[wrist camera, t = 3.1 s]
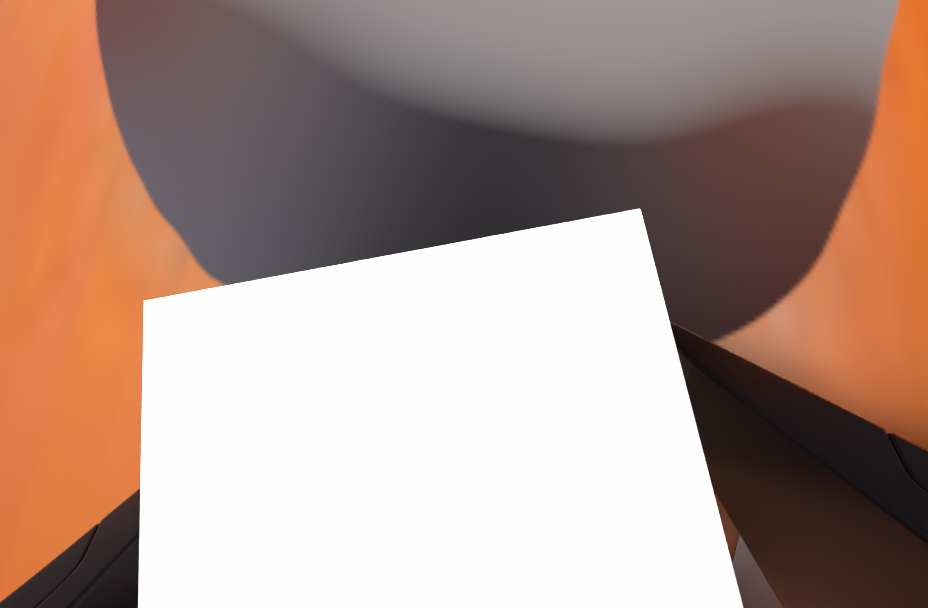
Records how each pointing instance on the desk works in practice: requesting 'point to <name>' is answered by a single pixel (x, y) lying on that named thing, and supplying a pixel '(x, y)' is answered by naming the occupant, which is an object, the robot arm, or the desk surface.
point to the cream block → (430, 435)
